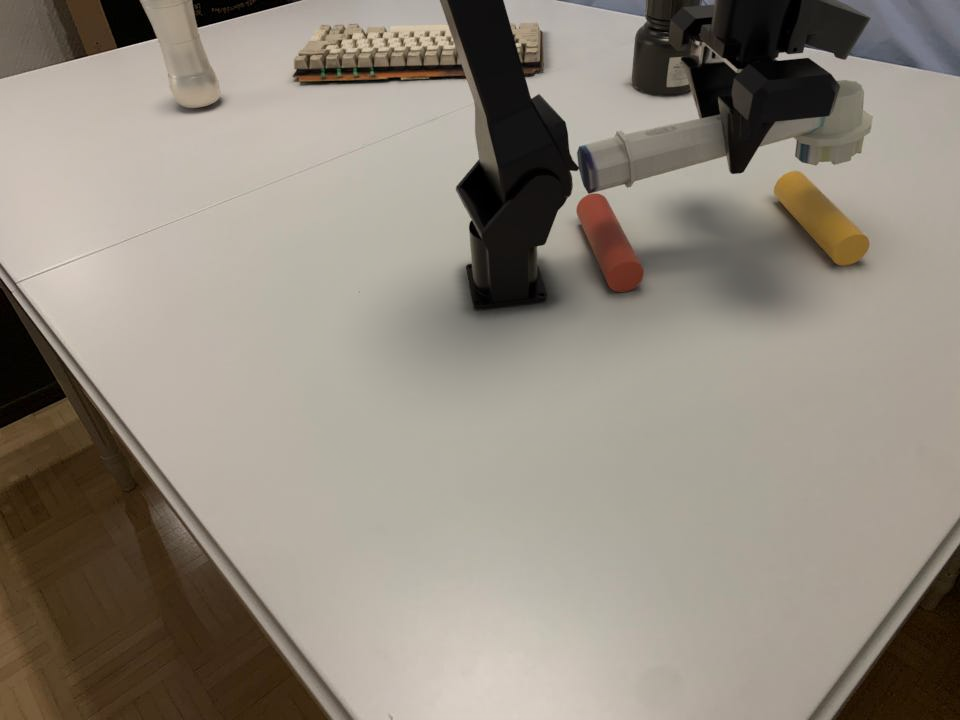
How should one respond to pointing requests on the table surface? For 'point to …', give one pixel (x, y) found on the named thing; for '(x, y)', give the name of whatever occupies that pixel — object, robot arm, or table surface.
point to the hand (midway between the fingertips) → (724, 159)
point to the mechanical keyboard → (398, 52)
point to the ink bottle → (660, 50)
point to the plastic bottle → (183, 52)
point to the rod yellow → (821, 218)
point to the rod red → (609, 243)
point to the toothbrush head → (722, 143)
